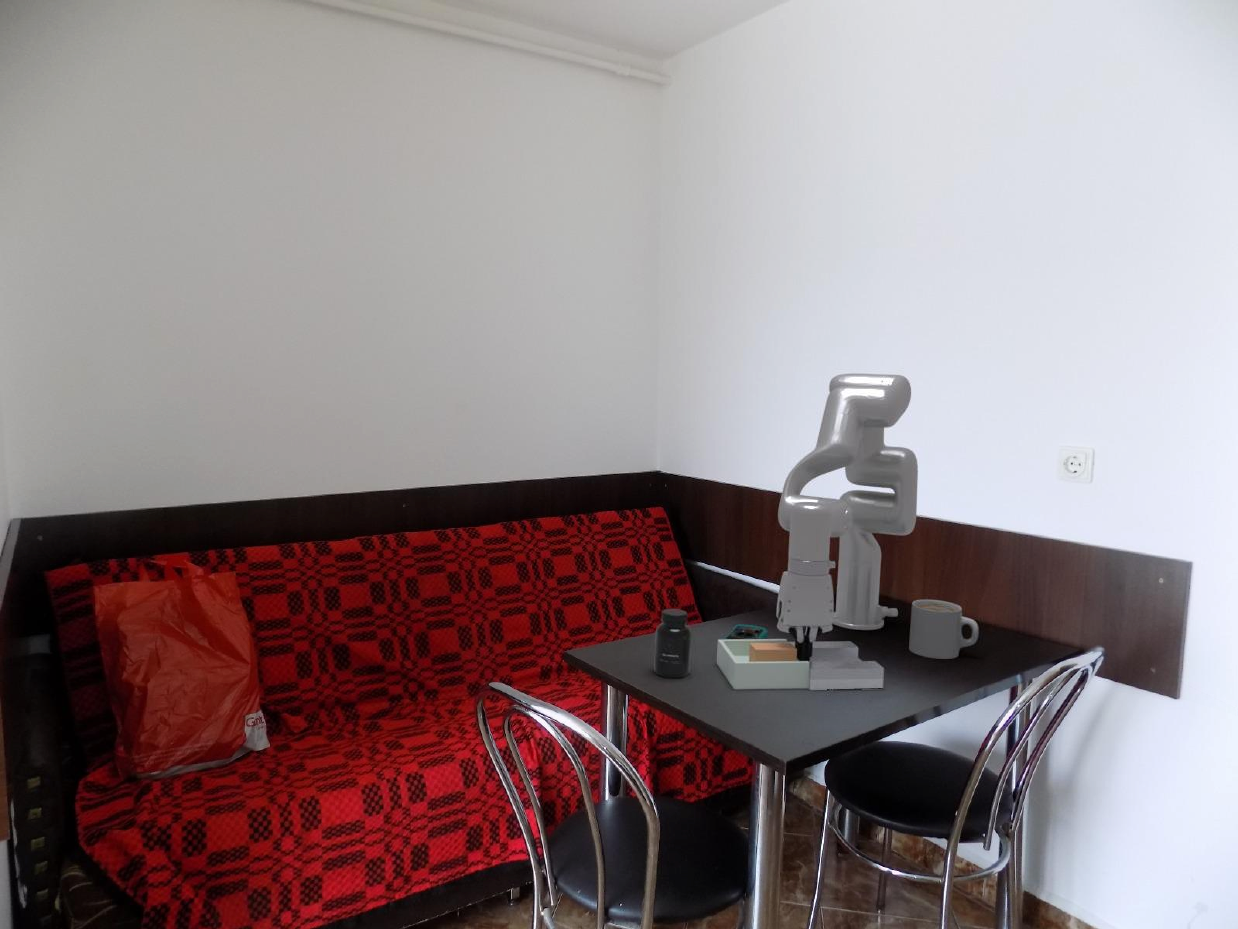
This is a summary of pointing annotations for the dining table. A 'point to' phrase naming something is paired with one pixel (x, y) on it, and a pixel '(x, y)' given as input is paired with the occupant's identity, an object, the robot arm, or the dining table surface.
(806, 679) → the tray
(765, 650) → the chip
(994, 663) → the dining table surface
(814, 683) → the slotted block
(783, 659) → the chip
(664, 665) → the supplement bottle
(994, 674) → the dining table surface
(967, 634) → the dining table surface
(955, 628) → the coffee mug
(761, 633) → the digital multimeter
